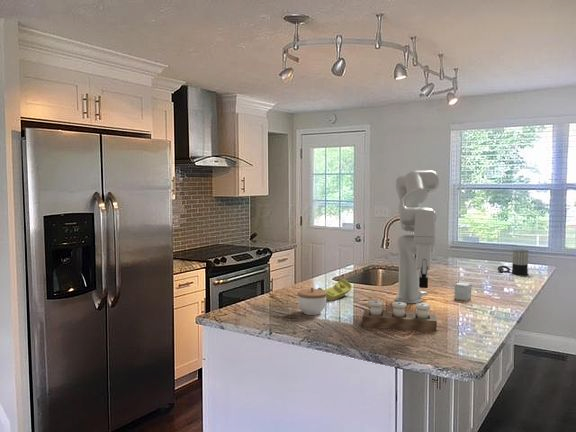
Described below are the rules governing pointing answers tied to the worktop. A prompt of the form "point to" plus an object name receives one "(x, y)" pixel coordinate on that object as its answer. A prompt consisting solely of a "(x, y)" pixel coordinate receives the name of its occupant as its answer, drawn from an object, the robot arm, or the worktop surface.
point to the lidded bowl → (312, 301)
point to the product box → (462, 291)
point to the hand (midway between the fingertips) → (423, 287)
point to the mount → (399, 321)
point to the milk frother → (518, 263)
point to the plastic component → (337, 290)
